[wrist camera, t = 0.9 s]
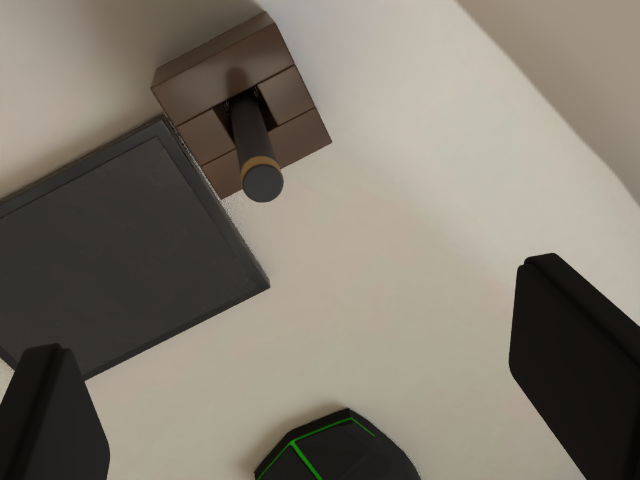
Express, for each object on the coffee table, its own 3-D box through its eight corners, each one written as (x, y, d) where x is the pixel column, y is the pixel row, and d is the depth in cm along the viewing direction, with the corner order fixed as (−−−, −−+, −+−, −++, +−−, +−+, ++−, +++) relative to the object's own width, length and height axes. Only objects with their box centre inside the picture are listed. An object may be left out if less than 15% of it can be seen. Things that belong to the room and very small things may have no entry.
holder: (155, 69, 28) (149, 88, 25) (265, 10, 28) (275, 21, 24) (218, 170, 31) (220, 200, 28) (317, 119, 31) (332, 142, 27)
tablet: (-98, 252, 30) (-107, 261, 29) (163, 114, 29) (162, 119, 28) (49, 390, 36) (45, 402, 35) (269, 280, 35) (271, 289, 34)
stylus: (221, 89, 29) (234, 176, 19) (246, 76, 29) (272, 157, 19) (235, 113, 30) (254, 210, 19) (259, 100, 30) (291, 191, 19)
